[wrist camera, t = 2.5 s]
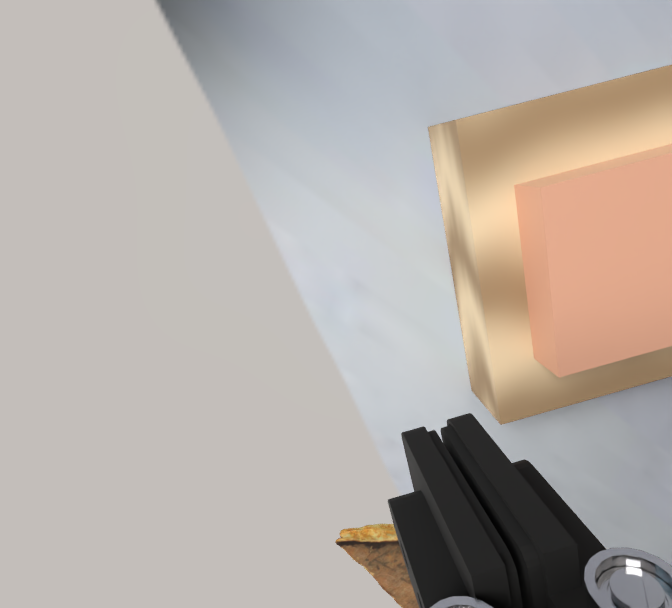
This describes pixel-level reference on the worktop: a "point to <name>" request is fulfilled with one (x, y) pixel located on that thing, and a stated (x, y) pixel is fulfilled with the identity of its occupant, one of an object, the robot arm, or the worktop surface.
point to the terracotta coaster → (598, 260)
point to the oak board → (504, 237)
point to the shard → (381, 559)
